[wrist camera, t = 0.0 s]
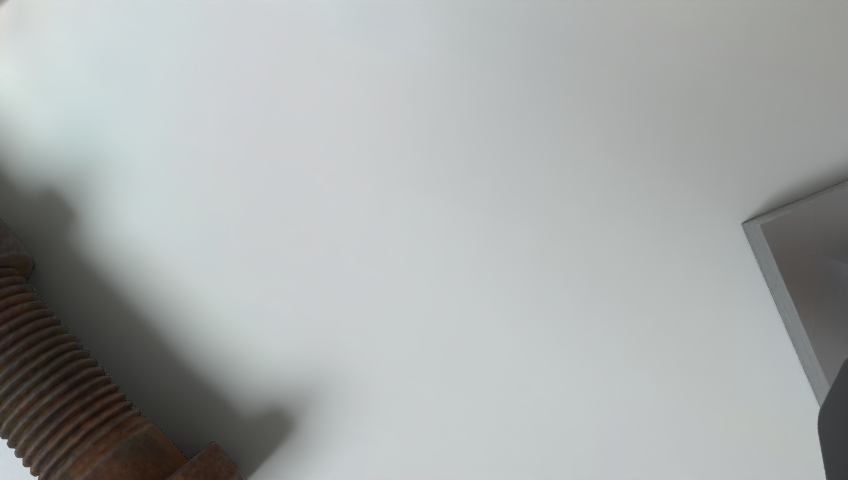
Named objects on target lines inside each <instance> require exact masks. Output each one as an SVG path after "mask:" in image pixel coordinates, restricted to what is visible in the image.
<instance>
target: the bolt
mask: <svg viewBox="0 0 848 480" xmlns="http://www.w3.org/2000/svg"><path fill="white" fill-rule="evenodd" d="M33 264H34V260H33V258H32V257H31V256H30V254H29V253H28V251H27V250H26V249H25V247H24V246H23V245H22V244H21V242H20V241H19V240H18V239H17V237H16V236H15V235H14V234H13V233H12V232H11V231H10V229H9V228H8V227H7V226H6V225H5V224H4V223H3V222H2V220H1V219H0V437H1V438H2V439H8V442H7V445H8V447H9V448H14V449H15V452H14V453H15V456H16V457H17V458H23V466H24V467H31V468H30V474H31V475H33V476H34V477H36V476H39V477H38V480H246V478H245V476H244V475H243V474H242V472H241V471H240V470H239V469H238V467H237V466H236V465H235V464H234V463H233V462H232V460H231V459H230V458H229V457H228V456H227V455H226V454H225V452H224V451H223V450H222V449H221V448H220V447H219V446H218V444H217V443H216V442H215V441H213V442H211V443H210V444H209V445H208V446H206V447H205V448H204V449H203V450H202V451H200V452H199V453H198V454H197V455H195V456H194V457H193V458H192V459H191V460H189V461H188V459H187V458H186V457H185V456H184V455H183V454H182V453H181V451H180V450H179V449H178V448H177V447H176V446H175V445H174V444H173V442H172V441H171V440H170V439H169V438H168V437H167V436H166V435H165V433H164V432H163V431H162V430H161V429H160V428H159V427H158V426H157V424H155V423H152V422H150V421H149V420H148V419H147V418H146V417H144V416H140V414H141V411H140V410H139V409H131V408H132V406H133V402H132V401H130V400H128V401H124V399H125V397H126V394H125V393H123V392H118V393H117V391H118V389H119V387H118V385H117V384H111V380H112V378H111V377H110V376H108V375H104V374H105V372H104V369H103V368H102V367H97V361H96V360H95V359H91V358H89V356H90V353H89V352H88V351H87V350H82V347H83V345H82V344H81V342H75V338H76V337H75V336H74V335H72V334H71V333H70V334H67V333H68V328H67V326H61V321H60V319H59V318H57V317H54V312H53V311H52V310H50V309H47V304H46V303H45V302H44V301H40V296H39V295H38V294H37V293H33V288H32V287H31V286H30V285H26V282H27V280H28V278H29V276H30V275H31V272H32V269H33Z"/></svg>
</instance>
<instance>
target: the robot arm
mask: <svg viewBox="0 0 848 480" xmlns="http://www.w3.org/2000/svg"><path fill="white" fill-rule="evenodd" d="M818 435H819V441H820V446H821V452H822V458H823V463H824V469H825V474H826V480H848V356H847V357H846V358H845V359H844V361H843V362H842V364H841V366H840V369H839V371H838V373H837V375H836V377H835V379H834V381H833V383H832V385H831V387H830V389H829V391H828V393H827V395H826V397H825V399H824V401H823V403H822V405H821V408H820V411H819V415H818Z"/></svg>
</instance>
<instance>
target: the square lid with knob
mask: <svg viewBox="0 0 848 480" xmlns="http://www.w3.org/2000/svg"><path fill="white" fill-rule="evenodd" d="M742 227H743V229H744V231H745V234H746V236H747V238H748V241H749V243H750V245H751V247H752V250H753V252H754V254H755V257H756V259H757V261H758V264H759V266H760V268H761V271H762V273H763V275H764V278H765V280H766V282H767V285H768V287H769V289H770V292H771V294H772V296H773V299H774V301H775V303H776V306H777V308H778V310H779V313H780V315H781V317H782V320H783V322H784V324H785V327H786V329H787V331H788V334H789V336H790V338H791V340H792V343H793V345H794V347H795V350H796V352H797V354H798V357H799V359H800V361H801V364H802V366H803V368H804V371H805V373H806V375H807V378H808V380H809V382H810V385H811V387H812V389H813V392H814V394H815V396H816V399H817V401H818V403H819V406H820V408H821V405H822V403H823V401H824V399H825V397H826V395H827V393H828V391H829V389H830V387H831V385H832V383H833V381H834V379H835V377H836V375H837V373H838V371H839V369H840V366H841V364H842V362H843V361H844V359H845V358H846V357H847V356H848V180H847V181H844V182H842V183H840V184H837V185H835V186H832V187H830V188H827V189H825V190H823V191H820V192H818V193H815V194H813V195H810V196H808V197H806V198H803V199H801V200H798V201H796V202H793V203H791V204H789V205H786V206H784V207H781V208H779V209H776V210H774V211H772V212H769V213H767V214H764V215H762V216H759V217H757V218H755V219H752V220H750V221H747V222H745V223H742Z"/></svg>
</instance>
